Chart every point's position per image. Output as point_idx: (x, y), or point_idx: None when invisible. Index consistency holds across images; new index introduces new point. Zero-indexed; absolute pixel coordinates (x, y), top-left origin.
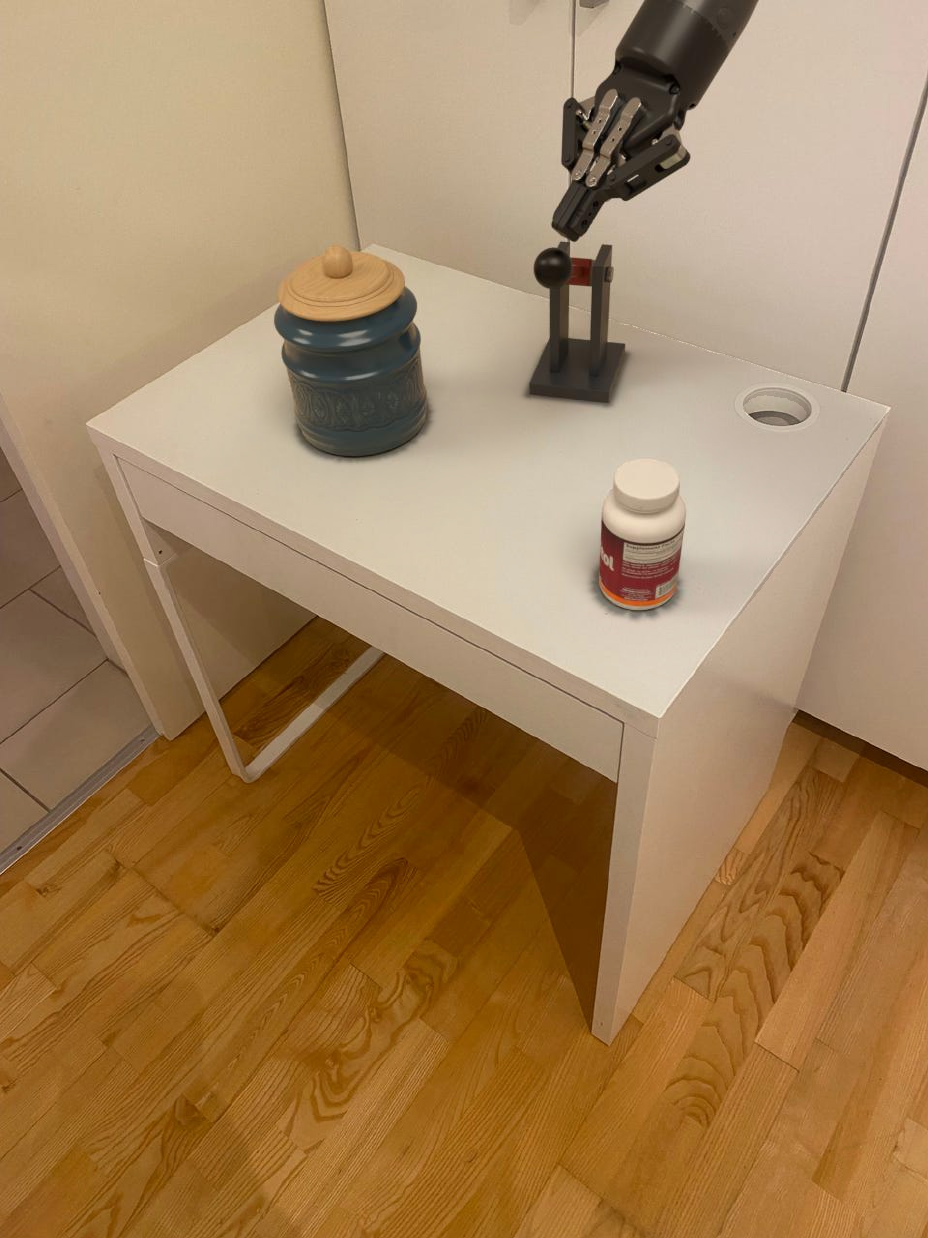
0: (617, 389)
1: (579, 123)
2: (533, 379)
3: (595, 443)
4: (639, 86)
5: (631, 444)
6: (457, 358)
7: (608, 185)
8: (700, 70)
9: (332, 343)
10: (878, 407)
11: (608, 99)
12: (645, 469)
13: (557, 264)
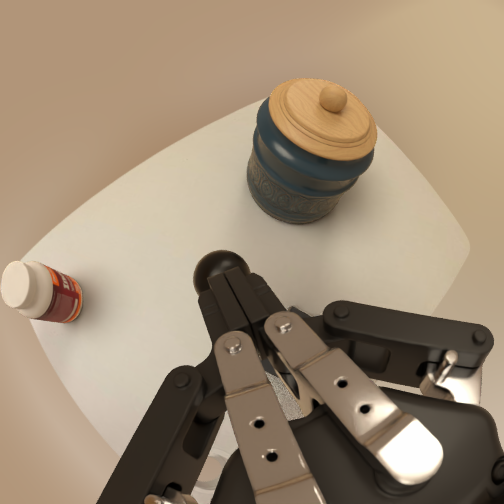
0: (272, 378)
1: (430, 359)
2: (296, 310)
3: (205, 336)
4: None
5: (195, 362)
6: (353, 264)
7: (179, 366)
8: None
9: (263, 106)
10: None
11: (411, 450)
12: (19, 287)
13: (197, 274)
